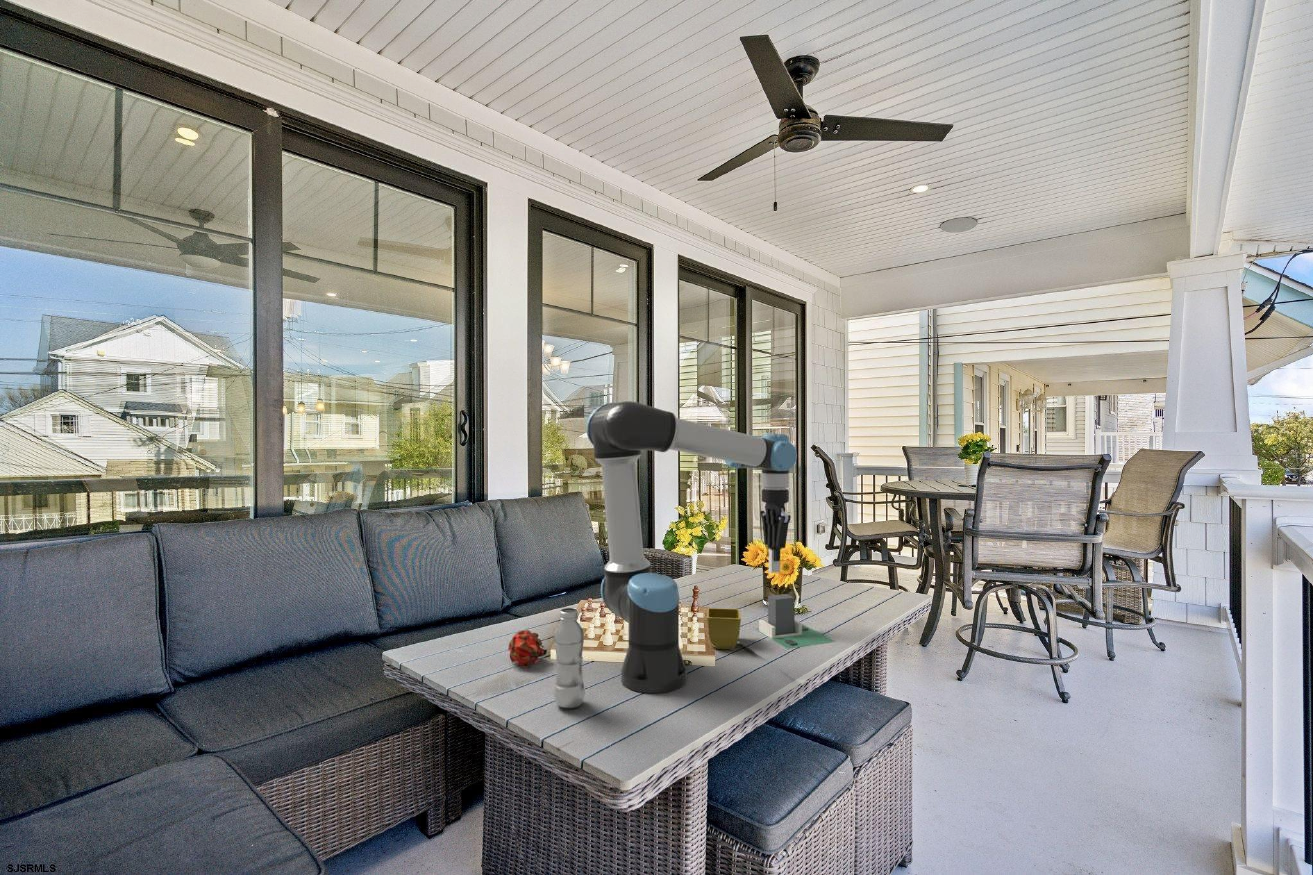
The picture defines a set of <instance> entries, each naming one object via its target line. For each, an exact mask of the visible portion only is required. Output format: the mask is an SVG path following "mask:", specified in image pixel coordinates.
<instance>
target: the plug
mask: <svg viewBox="0 0 1313 875" xmlns="http://www.w3.org/2000/svg"><path fill="white" fill-rule="evenodd" d="M795 612H796V611H795V596H792V595H790V594H787V593H784V594H774V595H767V623H769V624H770V625H772V626H774V627H775V636H777V635H784V634H791V633H795V620H796V619H795V615H796V614H795Z"/></svg>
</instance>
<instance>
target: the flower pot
mask: <svg viewBox="0 0 1313 875" xmlns="http://www.w3.org/2000/svg"><path fill="white" fill-rule="evenodd" d="M706 614H707V615H706V619H707V631H708V637H709V641H710V643H711V645H712V644H713V645H714V646H715V648H714V649H715V650H716V649H718V650H733V649H735V646H736V645H737V643H738V640H739V638H740V629H741V622H742V621H741V620H742V617H741V610H740V609H738V608H721V607H720V608H719V607H716V608H715V607H714V608H713V607H712V608H711V607H708V608H707V613H706Z"/></svg>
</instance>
